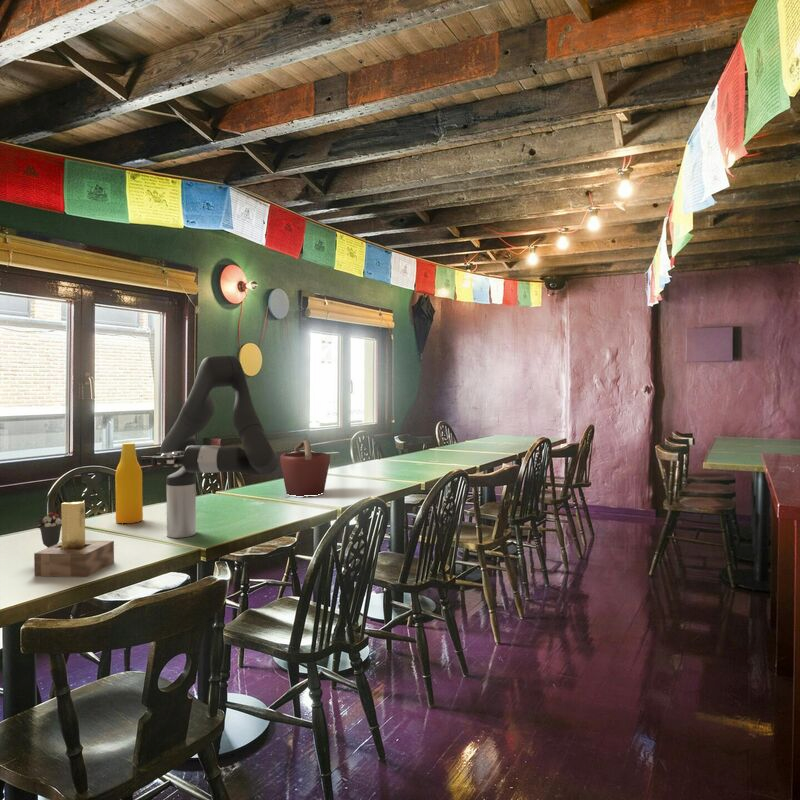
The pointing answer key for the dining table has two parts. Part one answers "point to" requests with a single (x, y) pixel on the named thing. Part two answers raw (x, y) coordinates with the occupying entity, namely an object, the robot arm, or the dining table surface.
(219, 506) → the dining table surface
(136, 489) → the beer bottle
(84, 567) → the walnut socket block
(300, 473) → the bucket
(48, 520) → the sundae
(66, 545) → the brass peg
